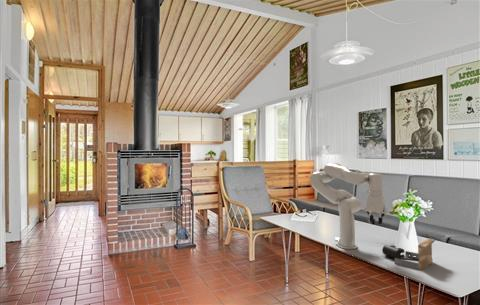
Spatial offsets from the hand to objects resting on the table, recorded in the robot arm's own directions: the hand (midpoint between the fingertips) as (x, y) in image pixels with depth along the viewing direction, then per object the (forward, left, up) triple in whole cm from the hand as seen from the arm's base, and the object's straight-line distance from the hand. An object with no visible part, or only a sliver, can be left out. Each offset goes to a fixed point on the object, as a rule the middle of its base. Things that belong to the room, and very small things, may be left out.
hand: (376, 222), depth 187 cm
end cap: (+10, 0, -20) cm, 22 cm away
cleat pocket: (+20, 0, -19) cm, 28 cm away
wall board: (+27, 0, -19) cm, 33 cm away
